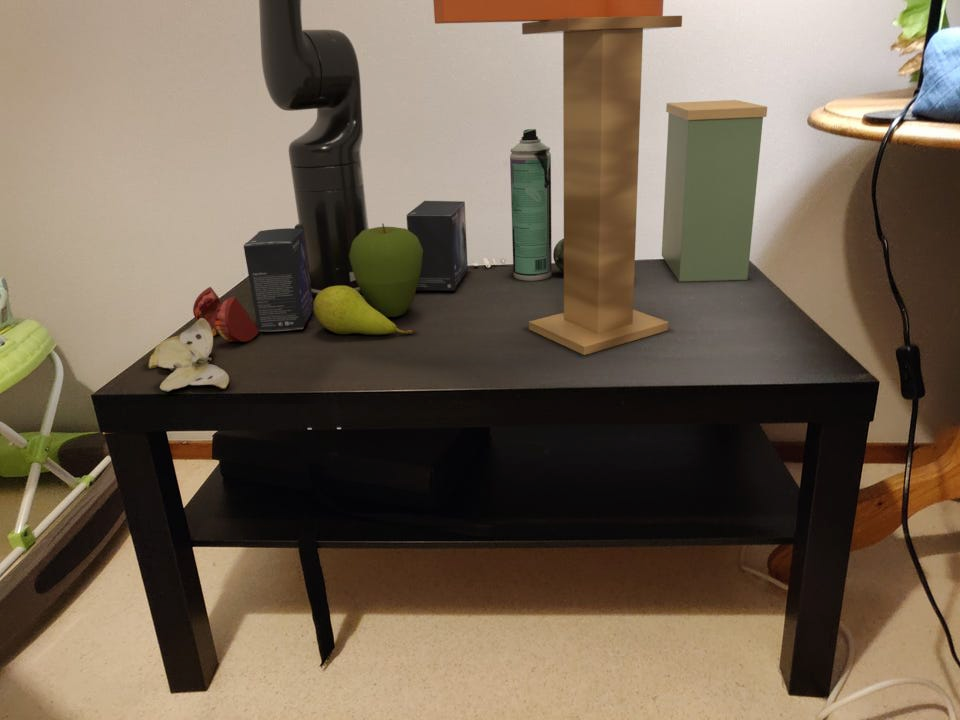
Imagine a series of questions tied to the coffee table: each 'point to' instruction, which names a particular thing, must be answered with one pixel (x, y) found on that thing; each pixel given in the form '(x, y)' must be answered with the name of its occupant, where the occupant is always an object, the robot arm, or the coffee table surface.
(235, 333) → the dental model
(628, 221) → the stand
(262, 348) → the coffee table surface
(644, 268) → the coffee table surface
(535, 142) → the spray can
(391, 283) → the apple
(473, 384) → the coffee table surface
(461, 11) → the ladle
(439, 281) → the small box
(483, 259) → the miniature set
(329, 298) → the fruit
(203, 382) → the butterfly
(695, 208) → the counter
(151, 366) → the pale yellow butterfly wing
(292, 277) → the box
